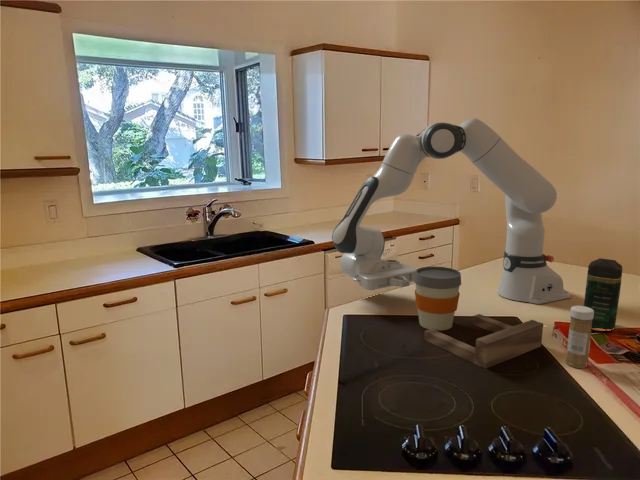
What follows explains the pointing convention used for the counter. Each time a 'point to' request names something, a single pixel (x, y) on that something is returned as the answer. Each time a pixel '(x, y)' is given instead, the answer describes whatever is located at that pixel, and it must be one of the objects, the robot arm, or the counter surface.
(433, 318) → the reusable coffee cup
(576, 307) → the spice jar
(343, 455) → the counter surface
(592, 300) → the coffee jar
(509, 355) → the walnut bay
